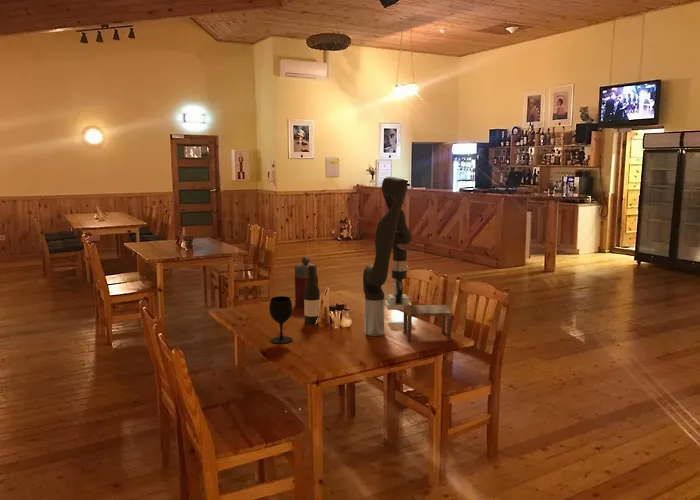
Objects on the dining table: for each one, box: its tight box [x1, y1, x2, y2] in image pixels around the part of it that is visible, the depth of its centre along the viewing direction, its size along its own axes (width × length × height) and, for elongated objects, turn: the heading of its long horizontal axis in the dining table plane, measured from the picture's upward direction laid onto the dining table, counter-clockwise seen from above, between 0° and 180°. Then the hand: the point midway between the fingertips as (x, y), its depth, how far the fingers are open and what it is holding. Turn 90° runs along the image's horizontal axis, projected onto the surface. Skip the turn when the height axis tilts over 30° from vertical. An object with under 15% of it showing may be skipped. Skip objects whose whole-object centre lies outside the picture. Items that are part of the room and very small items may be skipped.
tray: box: [384, 293, 412, 311], centre depth 297 cm, size 12×10×7 cm
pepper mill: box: [294, 256, 319, 308], centre depth 329 cm, size 9×11×28 cm
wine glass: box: [269, 295, 294, 345], centre depth 267 cm, size 10×10×20 cm
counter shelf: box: [402, 304, 453, 343], centre depth 273 cm, size 20×14×14 cm
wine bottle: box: [303, 263, 321, 325], centre depth 295 cm, size 8×8×30 cm
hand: (398, 302), depth 297 cm, fingers closed on tray, 1 cm apart
